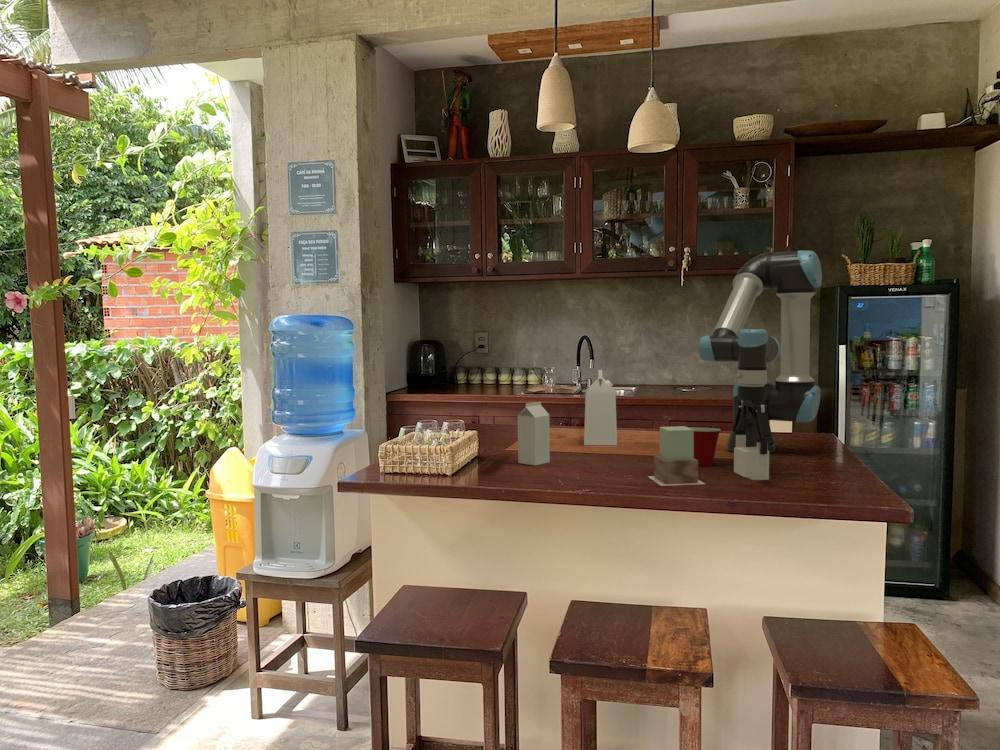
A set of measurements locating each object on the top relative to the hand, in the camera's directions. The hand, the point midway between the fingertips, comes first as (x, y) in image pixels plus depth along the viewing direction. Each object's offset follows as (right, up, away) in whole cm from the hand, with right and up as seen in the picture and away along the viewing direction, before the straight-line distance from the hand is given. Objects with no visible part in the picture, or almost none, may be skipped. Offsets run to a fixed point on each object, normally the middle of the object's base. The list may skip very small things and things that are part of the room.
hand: (750, 461), depth 212 cm
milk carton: (-59, -4, +26) cm, 65 cm away
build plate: (-22, -5, -6) cm, 23 cm away
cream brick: (0, -5, +1) cm, 5 cm away
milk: (-34, -1, +61) cm, 70 cm away
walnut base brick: (-22, -4, -6) cm, 23 cm away
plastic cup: (-9, -4, +16) cm, 19 cm away
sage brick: (-22, +2, -6) cm, 23 cm away
